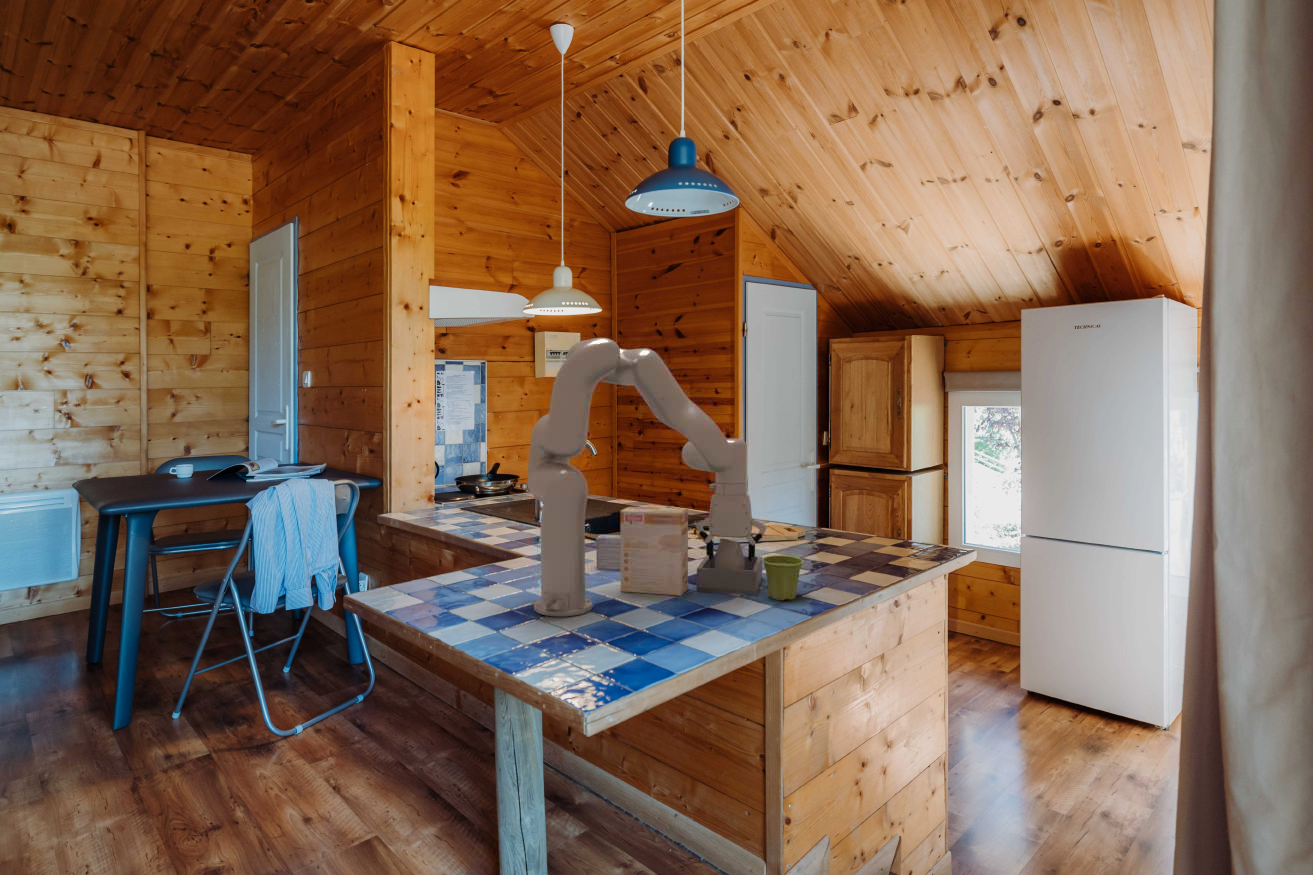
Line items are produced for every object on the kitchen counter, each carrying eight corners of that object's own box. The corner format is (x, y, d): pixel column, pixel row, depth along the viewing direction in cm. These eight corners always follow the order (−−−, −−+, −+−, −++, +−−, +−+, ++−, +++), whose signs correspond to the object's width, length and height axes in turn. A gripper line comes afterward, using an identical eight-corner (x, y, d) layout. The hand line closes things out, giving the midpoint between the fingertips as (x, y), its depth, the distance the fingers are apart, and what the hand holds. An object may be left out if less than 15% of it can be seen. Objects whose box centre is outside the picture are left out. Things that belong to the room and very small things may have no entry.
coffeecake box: (688, 588, 179) (688, 508, 178) (681, 596, 172) (681, 512, 171) (629, 584, 183) (628, 505, 182) (619, 592, 176) (619, 510, 175)
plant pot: (808, 594, 173) (809, 558, 173) (794, 605, 165) (795, 566, 164) (771, 589, 178) (771, 553, 177) (755, 599, 170) (755, 561, 169)
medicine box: (628, 566, 201) (627, 534, 201) (625, 570, 197) (625, 538, 196) (599, 566, 202) (598, 534, 201) (596, 569, 198) (595, 537, 197)
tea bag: (733, 584, 178) (733, 543, 178) (714, 579, 184) (715, 538, 183) (744, 582, 180) (744, 541, 180) (726, 576, 186) (726, 537, 185)
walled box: (756, 594, 173) (756, 571, 173) (696, 591, 176) (696, 568, 176) (762, 578, 189) (762, 556, 188) (707, 575, 192) (707, 553, 191)
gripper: (693, 490, 179) (693, 560, 180) (765, 492, 175) (765, 564, 176) (698, 486, 186) (698, 554, 188) (768, 488, 183) (767, 557, 184)
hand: (730, 559), depth 182 cm, fingers open, 9 cm apart
